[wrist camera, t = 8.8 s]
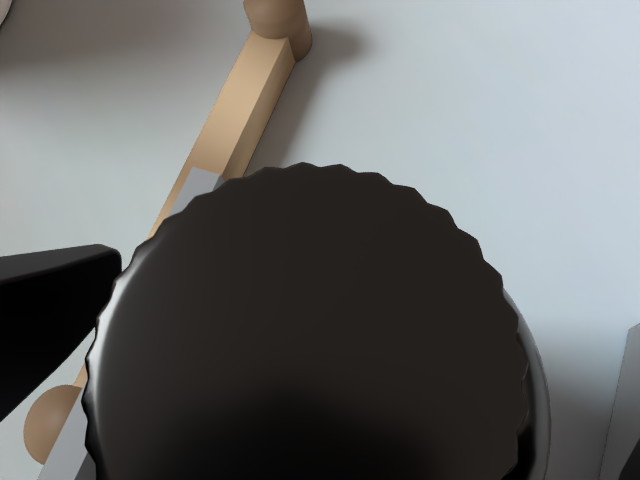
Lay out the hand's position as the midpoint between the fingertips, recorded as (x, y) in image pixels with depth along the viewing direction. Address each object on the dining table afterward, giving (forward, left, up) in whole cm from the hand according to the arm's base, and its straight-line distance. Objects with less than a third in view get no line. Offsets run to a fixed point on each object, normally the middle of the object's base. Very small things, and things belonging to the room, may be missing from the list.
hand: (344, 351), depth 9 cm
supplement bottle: (-1, 0, -9) cm, 9 cm away
